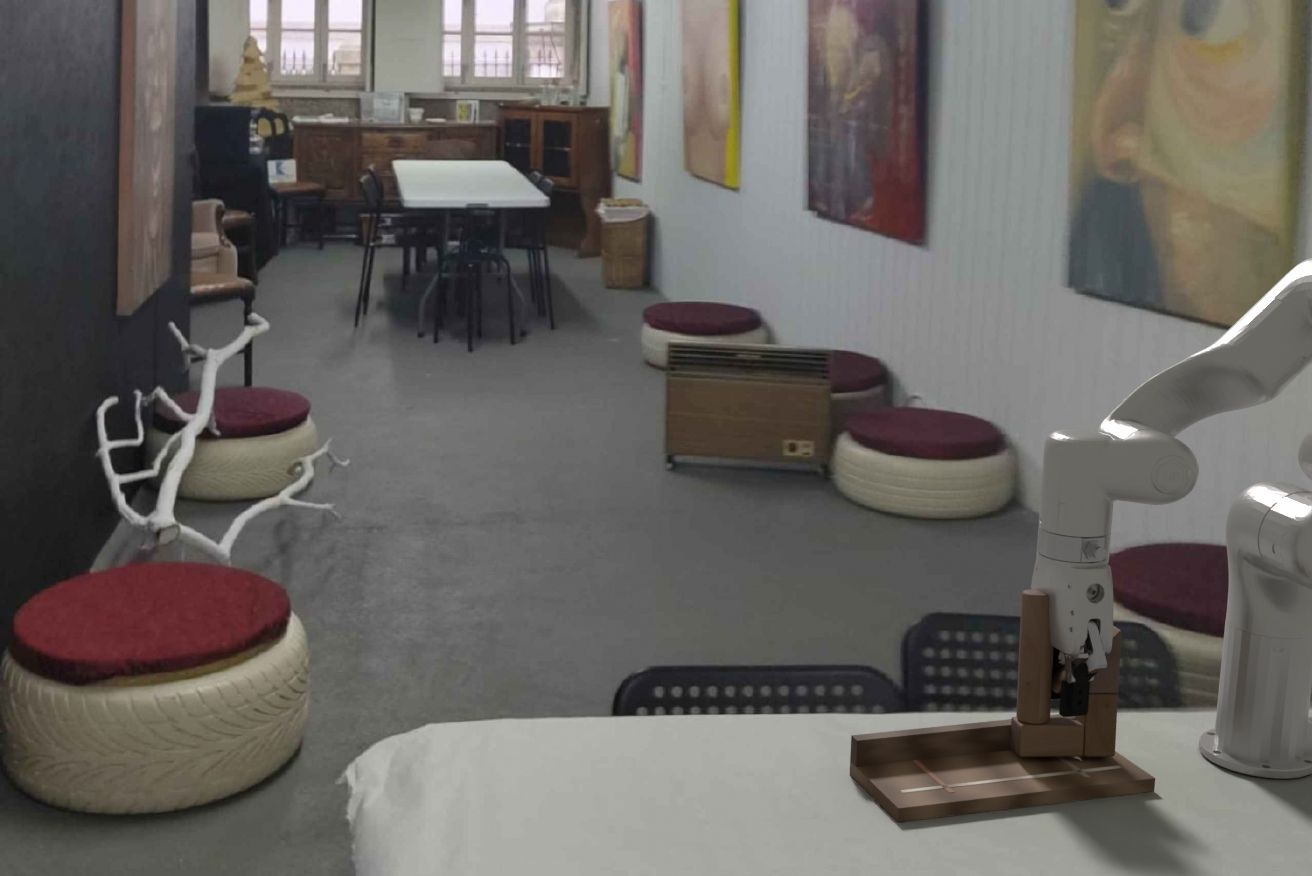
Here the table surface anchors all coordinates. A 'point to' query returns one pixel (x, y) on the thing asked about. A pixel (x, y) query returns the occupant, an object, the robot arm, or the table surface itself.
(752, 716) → the table surface
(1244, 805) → the table surface
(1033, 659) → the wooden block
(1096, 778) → the marking board
